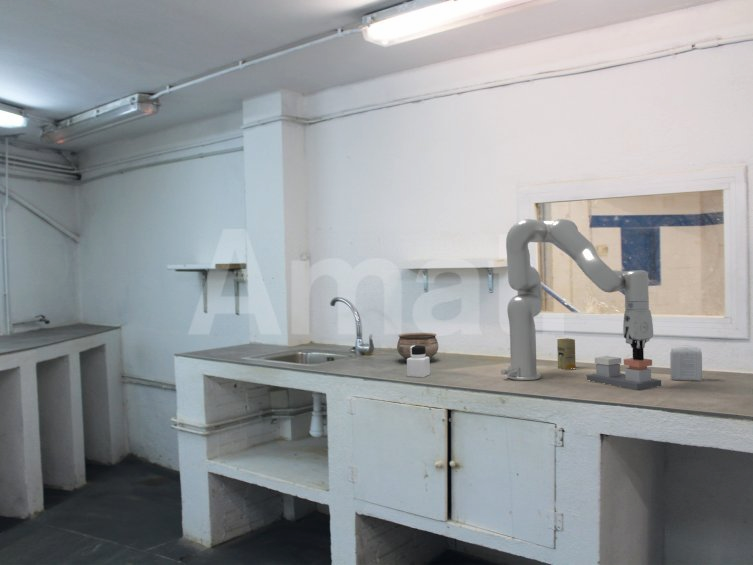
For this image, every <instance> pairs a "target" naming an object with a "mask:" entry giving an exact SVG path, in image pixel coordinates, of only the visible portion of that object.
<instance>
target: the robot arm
mask: <svg viewBox="0 0 753 565" xmlns="http://www.w3.org/2000/svg"><path fill="white" fill-rule="evenodd" d="M505 239H506V240H505V246H506V247H505V248H506V263H507V279H508V280H507V281H508V284H509V286H510V288H511V289H513V290H514V291H517V295H515V296H513V297H512V298H510V300H509V301H508V304H507V310H506V311H507V317H508V325H509V347H510V348H509V351H510V353H509V354H510V365H508V368H507V369H501V370H500V374H501V375H502V376H503V375H506V378H508V379H509V380H513V381H536V380H539V379H541V378H542V375H541V373H538V372H537V370H538V369H537V340H536V338H537V337H536V336H537V335H536V325H535V320H534V319H535V317H537V316H538V315H539V314H541V313H540V312H541V311H542V309H543V295H542V283H541V282H542V281H541V275H540V274H539V271H538V270H537V269H536V268H535V267H533V266H531V254H530V250H529V244H530V243H548V244H549V243H552V244H553V243H554V244H556V245H557V246H559V247H560V248H561V249H562V250H563V251H564V252H565V253H566V254H567V255H568V256H569V257H570V258H571V259H572V260H573V261H574V262H575V264H576V265H577V266H578V268H579V269H580V270H581V272H582V273H583V274H584V275H585V276H586V277H587V278H588V279H589V280H590V281H591V282H592V283H593V284H594V285H595V286H596V287H597V288H598V289H600V290H601V291H603V292H604V293H609V294H610V293H615V292H621V291H624V308H625V311H624V312H623V313H624V314H623V323H622V324H623V325H622V326H623V327H622V329H623V330H622V332H623V333H622V334H623V338H624V339H625V343H626V344H628V345H630V348H632V358H633V359H635V360H643V359H645V358H644V354H645V353H644V352H645V351H644V348H645V346H646V343H648V342H650V341H651V339H652V338H653V337H654V323H653V317H652V312H651V310H650V308H649V307H650V304H649V303H650V299H649V274H648V272H647V271H646V270H643V269H641V270H628V271H625V270H617V269H616V270H615V269H614V270H612V268H611V267H610V266H608V264H606V263H605V262H604V261H603V260H602V259H601V257H600V256H599V255H598V253H597V251H596V247H595V246H594V244H593V243H592V242H590V240H589V239H587V238H586V237H585V236H584V234H582V233H581V232H580V231H579V229H578V226H577V224H576V223H575V222H574V221H573V220H569V219H565V218H558V219H556V220H538V219H531V218H526V219H522V220H520V221H518V222H516V223H515V224H513V225H512V226H511V227H510V228H509V230H508V232H507V235H506V238H505Z"/></svg>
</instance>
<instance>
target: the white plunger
mask: <svg viewBox="0 0 753 565" xmlns="http://www.w3.org/2000/svg"><path fill="white" fill-rule="evenodd" d="M594 364H602V365H615V364H620V365H621V364H622V358H621V357H616V356H609V355H605V356H597V357H594Z"/></svg>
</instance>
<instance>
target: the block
mask: <svg viewBox="0 0 753 565" xmlns="http://www.w3.org/2000/svg"><path fill="white" fill-rule="evenodd" d="M624 369H625V370H624V373H621V364H615V365H602V364H597V363H595V373H591V374H586V381H587V380H590V381H589V382H592V381H595V382H594V383H597V382H600V383H599V384H602V383H605V384H604V385H607V384H611V385H610V386H613V385H616V386H615V387H618V386H621V387H620V388H623V387H625V388H624V389H628V388H630V389H629V390H634V389H635V390H634V391H640V390H639V389H641V390H646V389H645V388H647V389H651V387H653V388H658V387H657V386H659V387H662V380H661V379H656V378H652V369H651V368H648V367H647V369H644V370H634V369H629V367H626V368H624Z"/></svg>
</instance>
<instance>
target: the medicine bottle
mask: <svg viewBox="0 0 753 565" xmlns="http://www.w3.org/2000/svg"><path fill="white" fill-rule="evenodd" d="M410 355H411V357H410V358H408V359H406V376H407V377H410V378H411V377H412V378H426V377H427V376H429V375H430V374H431V372H430V370H431V368H430V367H431V366H430V363H431V362H430V359H429V357H425V356H426V351H425V346H423V345H414V346H411V347H410Z"/></svg>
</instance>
